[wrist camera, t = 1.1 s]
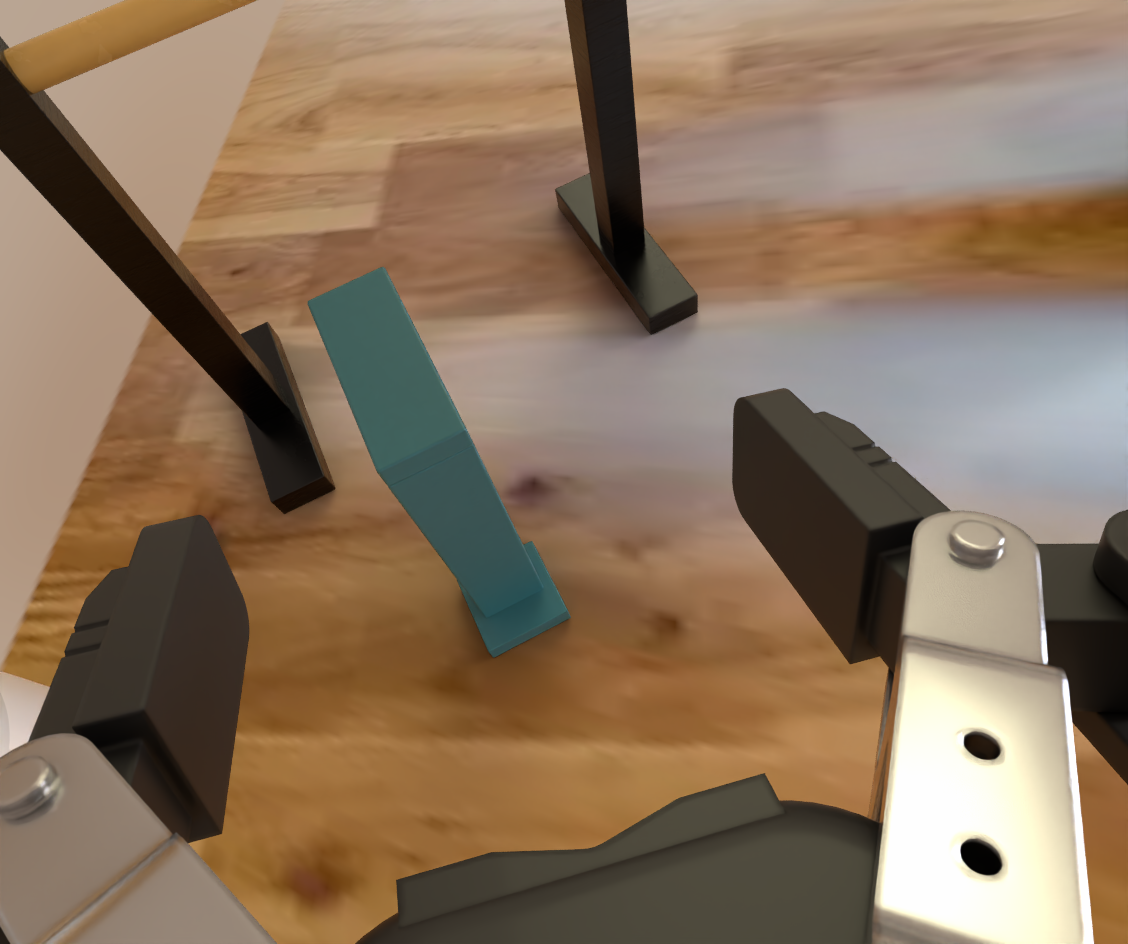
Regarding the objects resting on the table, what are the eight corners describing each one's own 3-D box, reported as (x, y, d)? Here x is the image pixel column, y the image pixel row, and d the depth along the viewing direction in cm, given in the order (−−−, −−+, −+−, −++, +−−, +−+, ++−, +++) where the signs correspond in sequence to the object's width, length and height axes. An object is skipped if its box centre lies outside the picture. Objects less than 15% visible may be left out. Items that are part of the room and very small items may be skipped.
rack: (698, 312, 44) (699, -185, 24) (284, 514, 41) (-103, 152, 21) (600, 187, 49) (535, -295, 29) (233, 358, 47) (-108, -40, 27)
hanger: (571, 617, 36) (500, 458, 23) (493, 658, 36) (377, 519, 23) (492, 463, 41) (396, 258, 28) (422, 498, 40) (292, 306, 27)
